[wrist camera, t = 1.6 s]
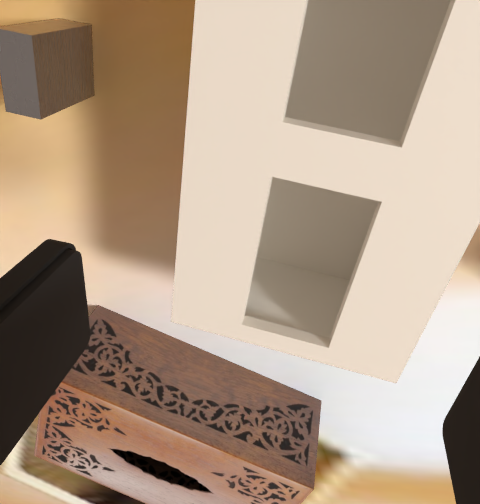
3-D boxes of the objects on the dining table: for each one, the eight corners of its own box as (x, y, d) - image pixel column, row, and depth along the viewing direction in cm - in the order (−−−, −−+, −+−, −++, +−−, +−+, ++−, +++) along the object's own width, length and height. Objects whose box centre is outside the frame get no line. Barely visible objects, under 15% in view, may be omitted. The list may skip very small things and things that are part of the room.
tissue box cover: (82, 383, 55) (34, 455, 47) (99, 303, 47) (43, 373, 38) (271, 464, 55) (256, 550, 47) (321, 398, 47) (313, 489, 38)
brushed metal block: (59, 18, 32) (-7, 27, 26) (91, 24, 32) (31, 35, 26) (64, 89, 35) (6, 111, 29) (94, 95, 34) (40, 119, 28)
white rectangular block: (263, -172, 24) (214, -251, 16) (569, -129, 22) (695, -193, 14) (210, 249, 39) (170, 321, 31) (387, 294, 38) (396, 383, 29)
